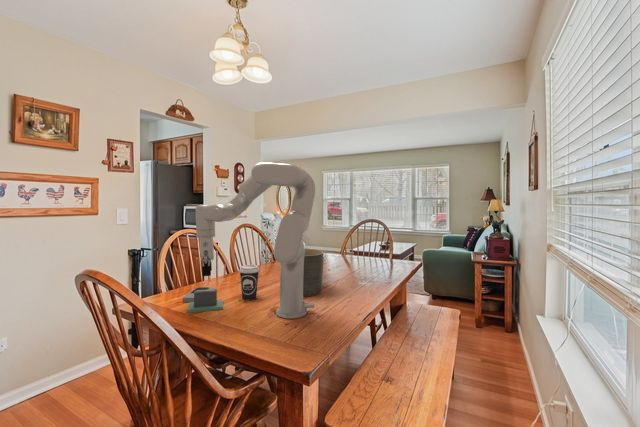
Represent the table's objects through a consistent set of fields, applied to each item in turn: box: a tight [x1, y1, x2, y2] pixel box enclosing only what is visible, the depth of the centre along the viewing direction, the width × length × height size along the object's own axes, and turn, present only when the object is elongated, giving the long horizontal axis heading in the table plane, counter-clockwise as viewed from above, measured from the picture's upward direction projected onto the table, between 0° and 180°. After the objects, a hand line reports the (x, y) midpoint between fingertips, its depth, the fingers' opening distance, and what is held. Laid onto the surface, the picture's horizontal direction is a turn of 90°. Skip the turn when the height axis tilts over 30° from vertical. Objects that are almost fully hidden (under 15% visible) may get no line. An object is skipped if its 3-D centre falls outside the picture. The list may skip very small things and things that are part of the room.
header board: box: [186, 299, 224, 314], centre depth 130 cm, size 14×10×5 cm
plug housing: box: [194, 288, 218, 307], centre depth 130 cm, size 9×4×6 cm, turn 108°
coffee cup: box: [238, 264, 261, 301], centre depth 143 cm, size 10×10×15 cm
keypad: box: [182, 286, 216, 303], centre depth 144 cm, size 10×4×15 cm
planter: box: [303, 248, 325, 298], centre depth 156 cm, size 22×22×20 cm
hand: (207, 273), depth 130 cm, fingers open, 9 cm apart
